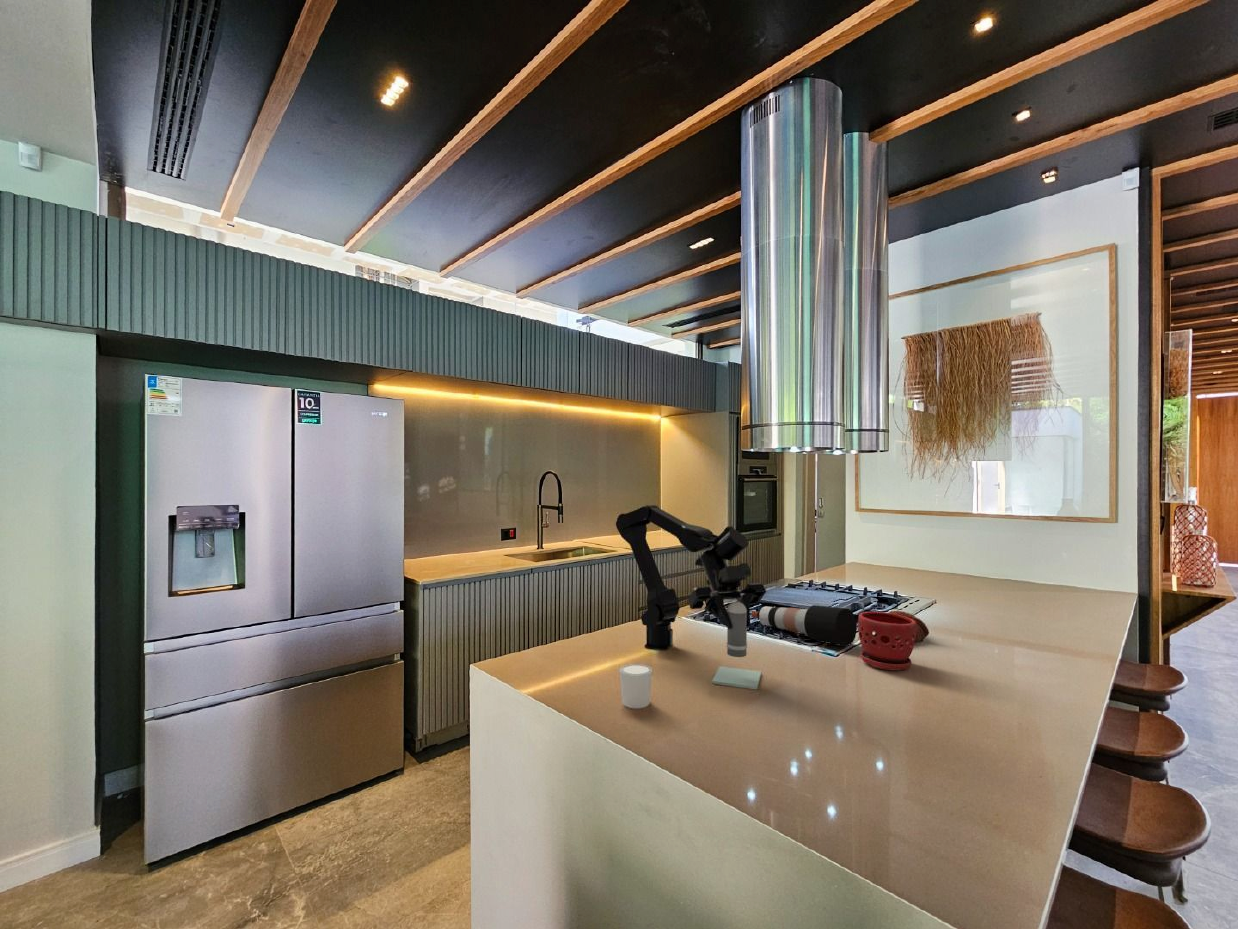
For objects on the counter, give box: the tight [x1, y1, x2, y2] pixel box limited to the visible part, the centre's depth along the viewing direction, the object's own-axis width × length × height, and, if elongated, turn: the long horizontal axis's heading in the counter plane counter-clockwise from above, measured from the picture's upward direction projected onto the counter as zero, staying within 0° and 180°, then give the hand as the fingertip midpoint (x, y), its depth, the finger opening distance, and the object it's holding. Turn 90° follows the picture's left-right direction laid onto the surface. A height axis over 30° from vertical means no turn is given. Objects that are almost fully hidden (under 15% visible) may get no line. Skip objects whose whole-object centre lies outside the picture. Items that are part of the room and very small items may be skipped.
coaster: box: [711, 666, 762, 690], centre depth 127 cm, size 10×10×1 cm
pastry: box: [887, 610, 930, 644], centre depth 160 cm, size 17×15×8 cm
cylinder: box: [726, 600, 748, 658], centre depth 127 cm, size 5×5×12 cm
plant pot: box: [857, 611, 916, 671], centre depth 137 cm, size 13×13×12 cm
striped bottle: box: [750, 604, 858, 646], centre depth 163 cm, size 10×34×10 cm, turn 34°
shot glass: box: [619, 663, 653, 709], centre depth 114 cm, size 7×7×7 cm
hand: (739, 627), depth 126 cm, fingers closed on cylinder, 4 cm apart
